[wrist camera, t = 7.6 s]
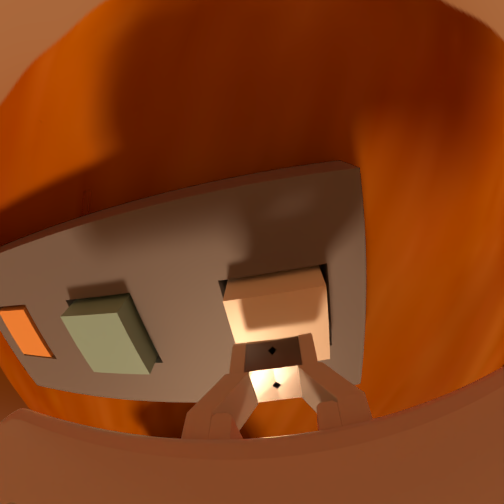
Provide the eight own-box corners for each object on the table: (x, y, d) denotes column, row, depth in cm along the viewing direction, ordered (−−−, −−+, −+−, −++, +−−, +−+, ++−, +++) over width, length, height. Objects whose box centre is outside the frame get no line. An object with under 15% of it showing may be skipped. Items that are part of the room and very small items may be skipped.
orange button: (38, 295, 15) (23, 309, 13) (63, 341, 17) (51, 356, 15) (12, 298, 16) (-2, 311, 14) (34, 339, 17) (23, 353, 15)
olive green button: (132, 291, 13) (116, 312, 11) (159, 350, 15) (150, 374, 13) (77, 297, 14) (60, 316, 12) (106, 351, 15) (93, 372, 13)
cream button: (317, 263, 12) (326, 285, 10) (323, 333, 14) (330, 358, 12) (228, 277, 13) (222, 301, 11) (246, 344, 14) (244, 370, 12)
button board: (339, 160, 12) (359, 167, 10) (349, 350, 17) (360, 383, 14) (-8, 250, 15) (-31, 265, 13) (51, 364, 20) (37, 385, 17)
